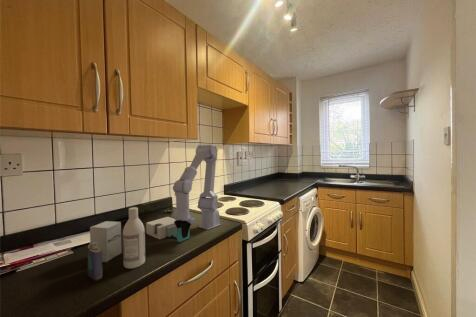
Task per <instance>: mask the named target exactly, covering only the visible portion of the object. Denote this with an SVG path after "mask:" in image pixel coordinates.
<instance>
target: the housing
mask: <svg viewBox="0 0 476 317" xmlns="http://www.w3.org/2000/svg"><path fill="white" fill-rule="evenodd" d="M174 221H176V220H174V218H172V217H170V216H165V217H161V218H158V219H155V220H152V221H151V220H150V221H148V222H146V223H145V224H146V225H145V229H146V231H145V235H148V236H151V237H153V238H155V239H158V240H162V239H165V238H167V236H166V227H168V226H171V225H175V224H174ZM158 223H160V224H161V226H158V227H157V234H155V224H158Z"/></svg>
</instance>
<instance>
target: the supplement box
mask: <svg viewBox="0 0 476 317" xmlns="http://www.w3.org/2000/svg"><path fill="white" fill-rule="evenodd" d="M92 242H94V243H96V242H97V244H96V245H97V247H98V248H99V249H102V263H108V262H109V261H110V260H112V259H113V258H115V257H117V256H119V255H120V254H122V221H109V220H106V221H105V220H104V221H103V222H99V223H98V224H95V225H92V226H90V227H89V244H90V243H91V244H92Z"/></svg>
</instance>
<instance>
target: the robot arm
mask: <svg viewBox="0 0 476 317" xmlns="http://www.w3.org/2000/svg"><path fill="white" fill-rule="evenodd" d="M196 146H197V147H196V148H195V155H194V157H193V159H192V161H191V163H190V165H189V166H187V167H185V168H184V171H183V172H182V174H181V176H180V178H179V179H177V180H176V181H174V183H173V186H172V190H173V192H174V197H175V207H176V208H175V213H172V214H171V218H174V220H176V221H174V224H175V225H176V227H177V229H178V228H181V230H182V237H183V238H185V237H187V235H188V231H189V229H190V228H191V226H192V225H193V224H196V218H194V217H192V215H190V192H191V191H192V188H193V181H194V180H195V178H196V176H197V173H198V171H197V169H198V168H199V167H200V165H201V163H202V162H203V161H204V162H205V174H204V184H203V185H204V186H203V192H202V193H200V194H199V198H198V201H197V207H198V209H199V210H200V211H201V213H200V214H201V224H200V225H197V227H198V228H201V229H204V230H208V231H209V230H212V229H213V228H216V227H219V226H220V225H221V223H220V210H219V209H218V207H219V198H218V195H217V194H216V193H215V192H214V190H215V178H216V166H217V165H216V164H217V160H218V148H217V146H216V144H214V143H213V144H198V145H196Z"/></svg>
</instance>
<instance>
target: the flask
mask: <svg viewBox="0 0 476 317" xmlns="http://www.w3.org/2000/svg"><path fill="white" fill-rule="evenodd" d="M96 244H97V242H96V243H94V242H92V244H91V243H90V242H89V244H88V245H87V276H88V277H89V278H90V279H91V280H93V281H99V280H101V279H103V277H104V276H103V275H104V273H103V262H102V249H99V248H98V247H97V245H96Z"/></svg>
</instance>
